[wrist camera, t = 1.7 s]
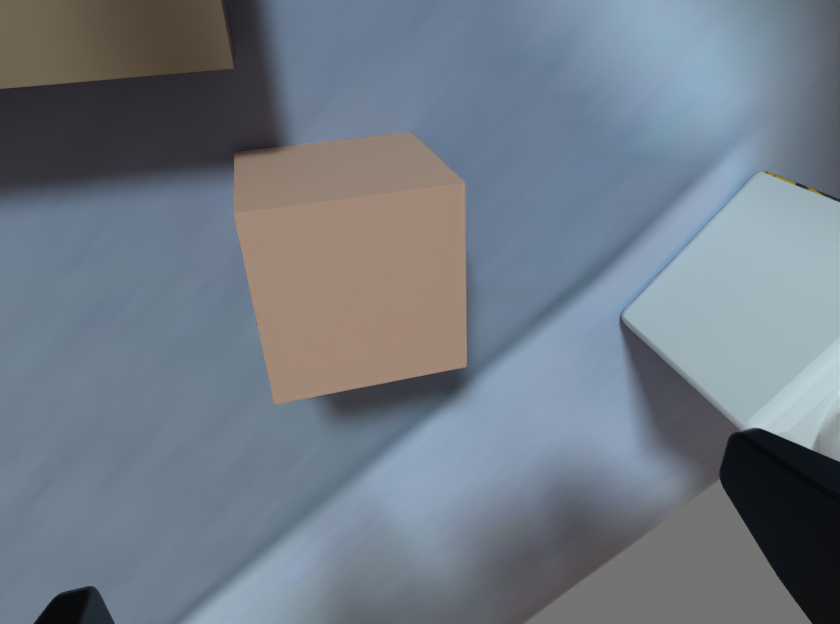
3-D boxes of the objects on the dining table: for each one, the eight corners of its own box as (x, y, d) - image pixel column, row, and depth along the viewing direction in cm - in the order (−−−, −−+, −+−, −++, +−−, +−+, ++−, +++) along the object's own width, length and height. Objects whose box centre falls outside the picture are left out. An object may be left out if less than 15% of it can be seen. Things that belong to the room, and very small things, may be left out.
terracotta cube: (410, 131, 18) (465, 182, 13) (418, 283, 20) (466, 366, 16) (234, 151, 17) (233, 213, 12) (266, 308, 19) (274, 404, 15)
